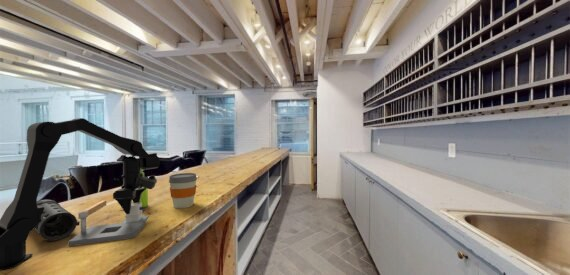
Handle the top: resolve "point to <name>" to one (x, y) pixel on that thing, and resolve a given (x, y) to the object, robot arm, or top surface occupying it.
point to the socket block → (100, 235)
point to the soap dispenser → (144, 195)
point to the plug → (135, 212)
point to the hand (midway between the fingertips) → (132, 210)
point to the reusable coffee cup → (183, 189)
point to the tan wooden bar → (91, 209)
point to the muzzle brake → (55, 221)
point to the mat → (140, 219)
